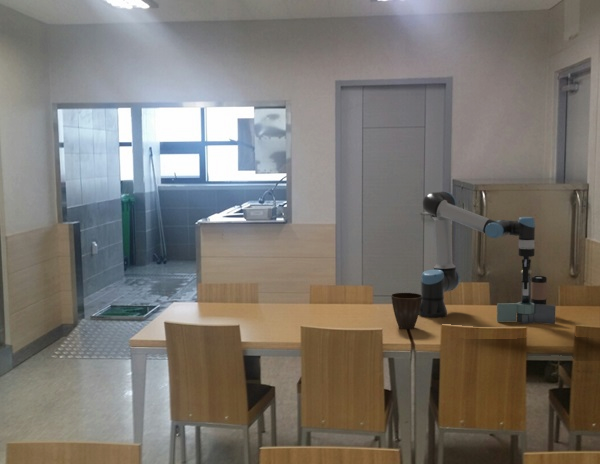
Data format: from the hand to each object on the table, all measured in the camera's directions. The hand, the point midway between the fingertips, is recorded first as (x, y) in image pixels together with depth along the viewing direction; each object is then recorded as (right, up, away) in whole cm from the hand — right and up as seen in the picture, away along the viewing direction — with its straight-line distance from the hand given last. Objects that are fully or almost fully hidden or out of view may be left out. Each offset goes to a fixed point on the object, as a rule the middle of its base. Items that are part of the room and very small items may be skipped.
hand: (526, 294), depth 338 cm
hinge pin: (0, -4, 0) cm, 4 cm away
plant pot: (-61, -16, -6) cm, 63 cm away
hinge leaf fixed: (+5, -14, -1) cm, 15 cm away
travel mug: (+12, -12, +17) cm, 24 cm away
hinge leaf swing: (-5, -14, +2) cm, 15 cm away
